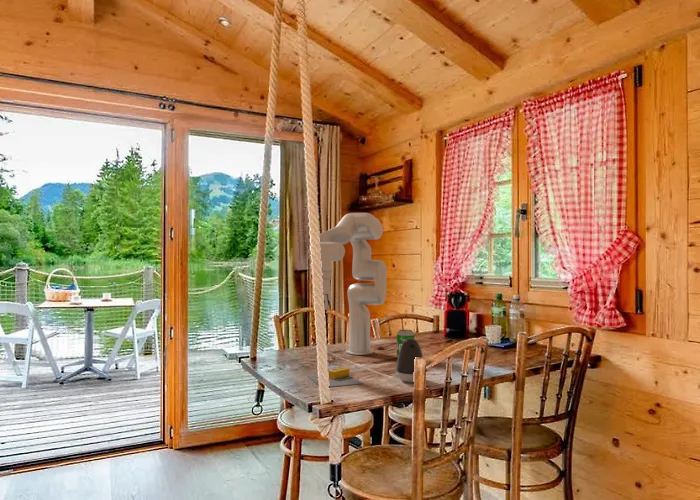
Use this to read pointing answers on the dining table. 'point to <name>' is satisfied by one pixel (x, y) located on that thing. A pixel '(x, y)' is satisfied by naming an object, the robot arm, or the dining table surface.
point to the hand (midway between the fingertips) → (322, 323)
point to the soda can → (403, 338)
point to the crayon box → (338, 372)
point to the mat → (339, 383)
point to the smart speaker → (408, 359)
